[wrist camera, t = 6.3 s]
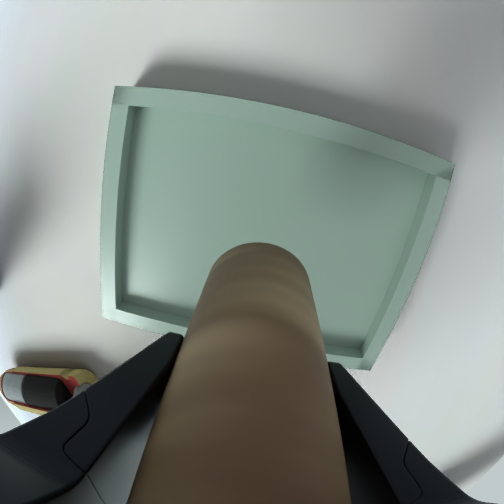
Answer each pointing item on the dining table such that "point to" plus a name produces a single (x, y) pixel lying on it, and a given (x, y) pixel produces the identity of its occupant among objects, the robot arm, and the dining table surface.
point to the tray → (261, 210)
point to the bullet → (43, 386)
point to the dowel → (248, 395)
